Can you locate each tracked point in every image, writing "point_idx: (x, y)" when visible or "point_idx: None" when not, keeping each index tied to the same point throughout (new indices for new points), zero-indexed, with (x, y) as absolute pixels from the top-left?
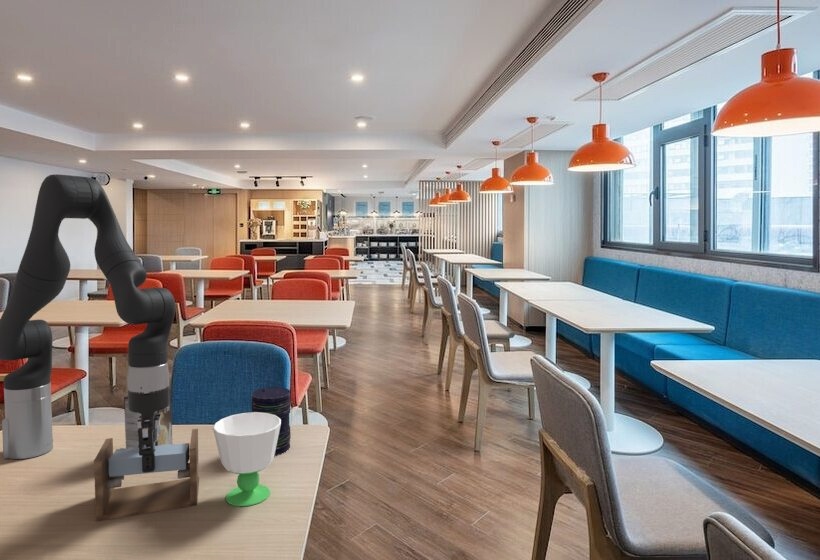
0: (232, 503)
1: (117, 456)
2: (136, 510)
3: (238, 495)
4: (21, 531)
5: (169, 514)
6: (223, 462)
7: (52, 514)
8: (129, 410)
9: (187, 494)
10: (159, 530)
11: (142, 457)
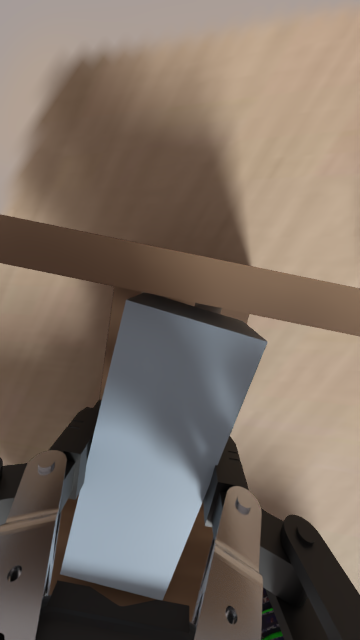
0: None
1: (153, 341)
2: (108, 338)
3: None
4: (155, 81)
5: (81, 391)
6: None
7: (211, 152)
8: None
9: None
10: (26, 368)
11: (70, 442)
